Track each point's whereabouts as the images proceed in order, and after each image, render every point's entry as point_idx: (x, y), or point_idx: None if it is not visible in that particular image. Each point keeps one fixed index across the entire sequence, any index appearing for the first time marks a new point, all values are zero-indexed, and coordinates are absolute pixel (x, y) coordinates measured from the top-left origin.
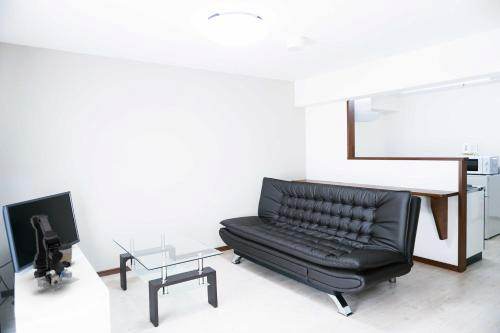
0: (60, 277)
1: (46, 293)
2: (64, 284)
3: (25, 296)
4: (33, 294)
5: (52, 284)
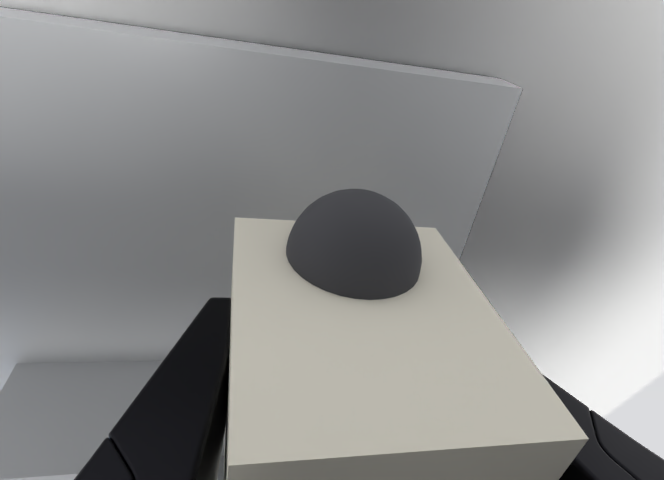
0: (15, 448)
1: (545, 155)
2: (96, 121)
3: (645, 339)
4: (587, 309)
5: (440, 249)
